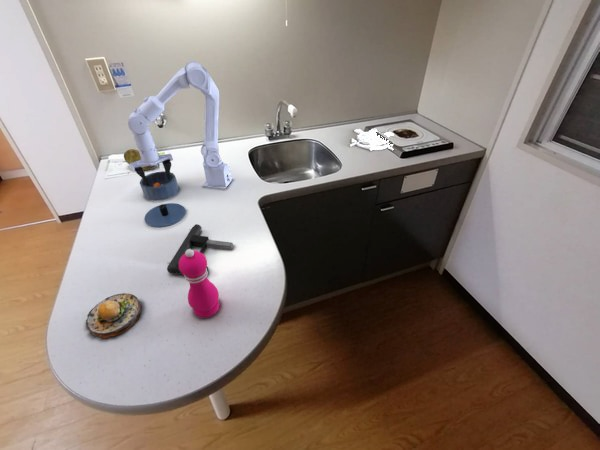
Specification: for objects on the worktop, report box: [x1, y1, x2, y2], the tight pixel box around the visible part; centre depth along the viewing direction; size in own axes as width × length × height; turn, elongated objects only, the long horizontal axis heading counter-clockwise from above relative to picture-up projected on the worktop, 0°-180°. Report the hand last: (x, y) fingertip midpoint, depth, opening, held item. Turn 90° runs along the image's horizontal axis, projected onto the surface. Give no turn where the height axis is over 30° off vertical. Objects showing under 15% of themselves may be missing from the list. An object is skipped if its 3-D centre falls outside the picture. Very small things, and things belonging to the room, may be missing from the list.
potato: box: [123, 148, 157, 171], centre depth 134 cm, size 8×13×8 cm, turn 60°
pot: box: [139, 170, 180, 202], centre depth 118 cm, size 13×13×6 cm
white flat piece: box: [349, 128, 395, 152], centre depth 159 cm, size 21×28×1 cm
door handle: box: [166, 224, 234, 275], centre depth 92 cm, size 3×20×16 cm
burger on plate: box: [85, 292, 143, 339], centre depth 73 cm, size 12×12×8 cm
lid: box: [144, 202, 187, 228], centre depth 106 cm, size 14×14×5 cm
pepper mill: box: [179, 248, 220, 319], centre depth 71 cm, size 7×7×20 cm
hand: (158, 181), depth 116 cm, fingers open, 7 cm apart
